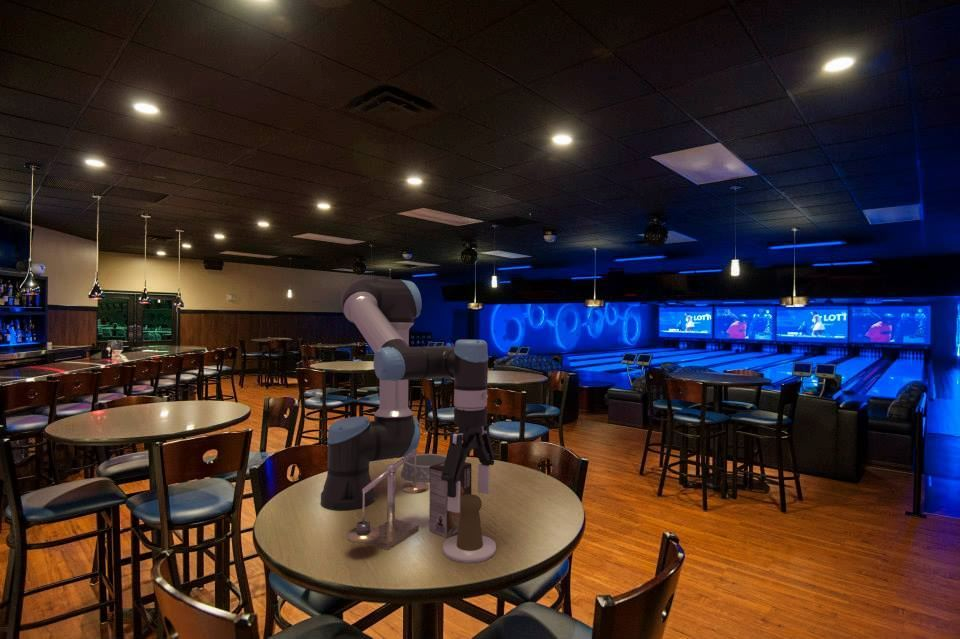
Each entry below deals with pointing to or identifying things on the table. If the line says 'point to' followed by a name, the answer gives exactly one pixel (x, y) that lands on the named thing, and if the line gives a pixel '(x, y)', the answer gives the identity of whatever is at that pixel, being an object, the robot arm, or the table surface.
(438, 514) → the coffee box
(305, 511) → the table surface
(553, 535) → the table surface
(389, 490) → the balance
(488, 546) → the dish
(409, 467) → the dog bowl
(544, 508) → the table surface
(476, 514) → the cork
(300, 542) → the table surface
